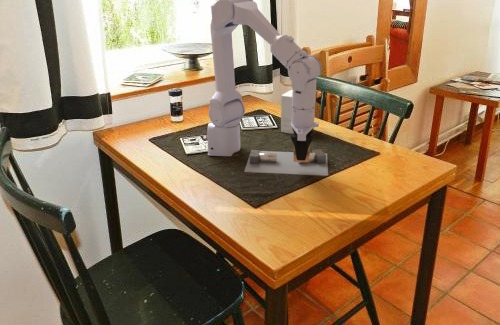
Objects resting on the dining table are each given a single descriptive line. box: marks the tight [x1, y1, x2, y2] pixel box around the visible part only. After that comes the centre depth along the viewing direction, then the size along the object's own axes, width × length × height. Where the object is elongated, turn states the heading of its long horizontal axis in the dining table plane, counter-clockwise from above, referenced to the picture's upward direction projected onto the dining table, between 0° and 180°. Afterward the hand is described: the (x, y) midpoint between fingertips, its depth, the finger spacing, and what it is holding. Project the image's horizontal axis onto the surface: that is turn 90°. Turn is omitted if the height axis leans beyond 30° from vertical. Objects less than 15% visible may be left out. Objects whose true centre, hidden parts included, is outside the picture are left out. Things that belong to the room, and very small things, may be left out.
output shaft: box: [298, 148, 326, 164], centre depth 125 cm, size 7×4×3 cm, turn 102°
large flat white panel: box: [243, 150, 329, 177], centre depth 125 cm, size 22×14×1 cm, turn 82°
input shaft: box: [249, 149, 277, 164], centre depth 125 cm, size 7×4×3 cm, turn 82°
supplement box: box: [280, 89, 294, 135], centre depth 147 cm, size 7×7×13 cm
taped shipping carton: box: [293, 144, 311, 162], centre depth 117 cm, size 4×4×5 cm
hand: (301, 155), depth 118 cm, fingers closed on taped shipping carton, 4 cm apart
